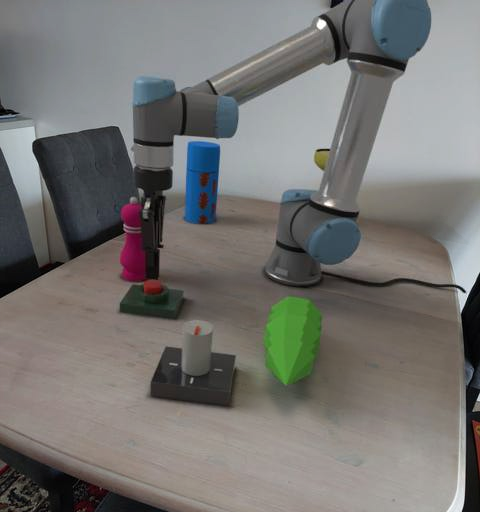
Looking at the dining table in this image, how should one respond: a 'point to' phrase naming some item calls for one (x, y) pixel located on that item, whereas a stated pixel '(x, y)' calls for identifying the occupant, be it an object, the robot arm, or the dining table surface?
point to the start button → (152, 287)
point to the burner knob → (196, 347)
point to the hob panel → (193, 379)
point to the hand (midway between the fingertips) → (152, 277)
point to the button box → (152, 302)
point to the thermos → (202, 181)
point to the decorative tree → (292, 339)
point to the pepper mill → (132, 243)
